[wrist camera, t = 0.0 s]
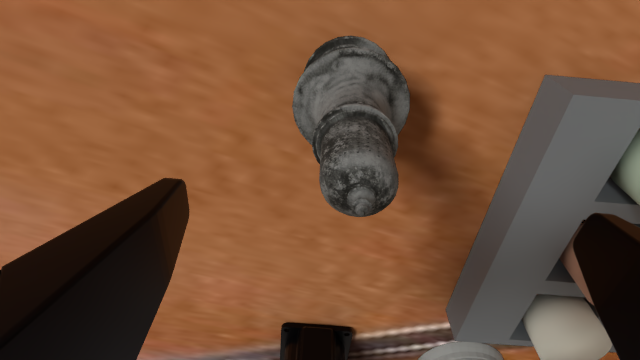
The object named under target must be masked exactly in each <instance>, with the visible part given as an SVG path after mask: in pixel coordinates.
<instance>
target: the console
mask: <svg viewBox="0 0 640 360" xmlns="http://www.w3.org/2000/svg"><path fill="white" fill-rule="evenodd" d="M639 128H640V83H630V82H619V81H608V80H597V79H586V78H575V77H564V76H553V75H545V77H544V79H543V82H542V84H541V86H540V89H539V91H538V93H537V96H536V98H535V100H534V103H533V105H532V107H531V110H530V112H529V114H528V117H527V119H526V122H525V124H524V126H523V129H522V131H521V133H520V136H519V138H518V140H517V143H516V145H515V147H514V150H513V152H512V154H511V157H510V159H509V162H508V164H507V166H506V169H505V171H504V173H503V176H502V178H501V180H500V183H499V185H498V187H497V190H496V192H495V194H494V197H493V199H492V202H491V204H490V206H489V209H488V211H487V213H486V216H485V218H484V220H483V223H482V225H481V227H480V230H479V232H478V234H477V237H476V239H475V242H474V244H473V246H472V249H471V251H470V253H469V256H468V258H467V260H466V263H465V265H464V267H463V270H462V272H461V274H460V277H459V279H458V282H457V284H456V286H455V289H454V291H453V293H452V296H451V298H450V300H449V303H448V305H447V307H446V313H447V316H448V320H449V323H450V326H451V330H452V333H453V336H454V340H455V341H463V342H477V343H491V344H505V345H519V346H533V347H534V345H533V343H532V341H531V339H530V337H529V335H528V333H527V331H526V329H525V326H524V324H523V322H522V320H521V319H522V318H523V316H524V314H525V313H526V311H527V309H528V308H529V306H530V305H531V303H532V301H533V300H534V298H535V296H536V295H537V294H546V295H559V296H572V297H584V299H585V300H586V302H587V303H588V305H589V306H590V308H591V309H592V311H593V312H594V314H595V315H596V317H597V318H598V320H599V321H600V322H601V320H600V318H599V316H598V314H597V311H596V309H595V307H594V305H592V304H591V303H590V302H589V301H588V300H587V299H586V297H585V296H584V294H583V293H582V291H581V290H580V288H579V287H578V285H577V284H576V282H575V281H574V280H573V278H572V277H571V275H570V274H569V272H568V271H567V269H566V268H565V266H564V265H563V263H562V262H561V260H560V259H559V258H560V256H561V254H562V253H563V251H564V249H565V248H566V246H567V245H568V243H569V241H570V240H571V238H572V237H573V235H574V233H575V232H576V230H577V228H578V227H579V225H580V224H581V222H582V220H583V219H584V220H586V219H587V218H588V216H590V215H591V214H593V213H606V214H613V215H616V216H618V217H620V218H622V219H624V220H626V221H628V222H630V223H632V224H634V225H636V226H638V227H640V205H639V204H637V203H636V202H635V201H634V200H633V199H632V198H631V197H630V196H629V195H628V194H626V193H625V192H624V191H623V190H622V189H621V188H620V187H619V186H618V185H617V184H616V183H615V182H614V181H613V180H612V178H611V177H610V175H611V173H612V172H613V170H614V168H615V167H616V165H617V164H618V162H619V160H620V159H621V157H622V156H623V154H624V152H625V151H626V149H627V147H628V146H629V144H630V143H631V141H632V139H633V138H634V136H635V134H636V133H637V131H638V130H639ZM601 324H602V322H601ZM602 325H603V324H602ZM603 327H604V326H603ZM609 352H616V351H615V349H614V347H613V345H612V347H611V349H610V350H609Z"/></svg>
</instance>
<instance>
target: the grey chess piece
mask: <svg viewBox="0 0 640 360" xmlns="http://www.w3.org/2000/svg"><path fill="white" fill-rule="evenodd" d="M292 107H293V113H294V119H295V122H296V124H297V126H298V128H299V130H300V132H301V134H302V135H303V136H304V137H305V139H306V140H307V141H308V142H309V143H310V144H311V145H312V147H313V153H314V155H315V157H316V159H317V162H318V163H319V164H320V178H319V181H320V187H321V191H322V194H323V196H324V198H325V200H326V201H327V202H328V203H329V204H330V205H331V207H333V208H334V209H336V210H337V211H339V212H341V213H344V214H346V215H349V216H355V217H365V216H370V215H373V214H376V213H378V212H380V211H382V210H383V209H384V208H386V207H387V206H388V205H389V204H390V203H391V202H392V200H393V199H394V197H395V196H396V192H397V189H398V172H397V168H396V164H395V161H394V157H395V155H396V151H397V148H398V134H399V133H400V131H401V129H402V128H403V126H404V125H405V123H406V120H407V116H408V113H409V110H410V93H409V90H408V86H407V83H406V80H405V78H404V76H403V75H402V73H401V72H400V70H399V68H398V67H397V66H396V65H395V64H394V63H392V62H391V61H390V60H389V58H388V56H387V55H386V53H385V52H384V51H383V50H382V49H381V48H380V47H379V46H378V45H377V44H375V43H374V42H372V41H370V40H367V39H365V38H362V37H356V36H344V37H337V38H335V39H333V40H330V41H328V42H326V43H324V44H323V45H322V46H320V47H319V48H318V49H316V51H315V52H314V53H313V55H312V56H311V57H310V58H309V60H308V62H307V65H306V67H305V70H304V73H303V74H302V75H301V77H300V78H299V81H298V83H297V86H296V88H295V91H294V97H293V106H292Z"/></svg>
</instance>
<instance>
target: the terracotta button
mask: <svg viewBox="0 0 640 360" xmlns="http://www.w3.org/2000/svg"><path fill="white" fill-rule="evenodd" d="M582 225H583V224H582ZM582 225H580V226H579V227H578V228H577V230H576V232H575V233H574V235H573V237H572V238H571V240H570V241H569V243H568V245H567V246H566V248H565V249H564V251H563V253H562V254H561V256H560V258H559V259H560V260H561V262H562V263H563V265H564V266H565V268H566V269H567V271H568V272H569V274H570V275H571V277H572V278H573V280H574V281H575V282H576V284H577V285H578V287H579V288H580V290H581V291H582V293H583V294H584V296H585V297H586V299H587V300H588V301H589V302H590V303H591V304H592V305H594V304H593V302H592V299H591V296H590V294H589V291H588V288H587V286H586V283H585V280H584V278H583V275H582V272H581V270H580V267H579V264H578V261H577V259H576V256H575V253H574V251H573V241H574V238H575V237H576V235H577V233H578V232H579V230H580V229H581V227H582Z"/></svg>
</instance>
